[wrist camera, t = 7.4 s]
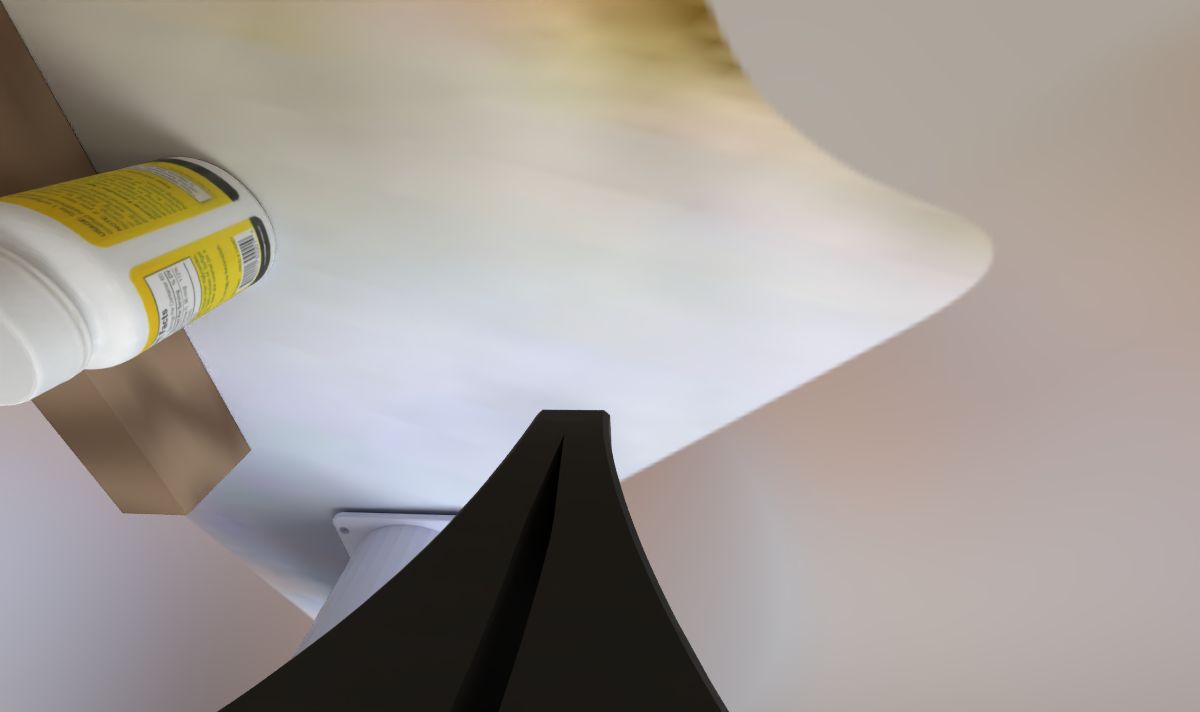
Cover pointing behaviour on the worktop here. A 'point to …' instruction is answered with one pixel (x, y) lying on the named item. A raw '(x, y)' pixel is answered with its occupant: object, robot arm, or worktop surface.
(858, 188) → the worktop surface
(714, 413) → the worktop surface
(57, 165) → the walnut board
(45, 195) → the supplement bottle
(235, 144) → the worktop surface
